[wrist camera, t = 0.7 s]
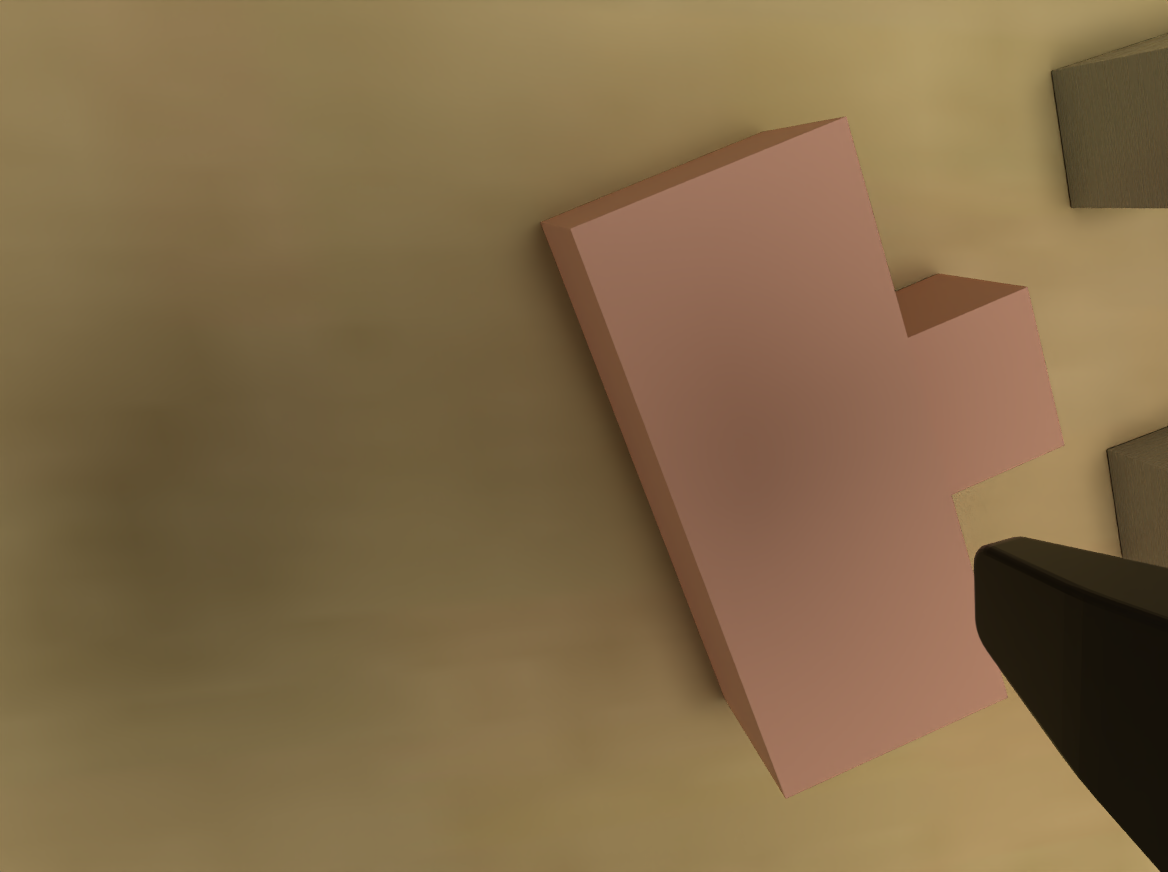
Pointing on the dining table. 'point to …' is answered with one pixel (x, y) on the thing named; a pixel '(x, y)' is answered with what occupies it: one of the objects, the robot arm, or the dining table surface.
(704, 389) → the pink tabbed slab
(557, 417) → the dining table surface
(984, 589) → the robot arm
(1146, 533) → the fixed leaf
